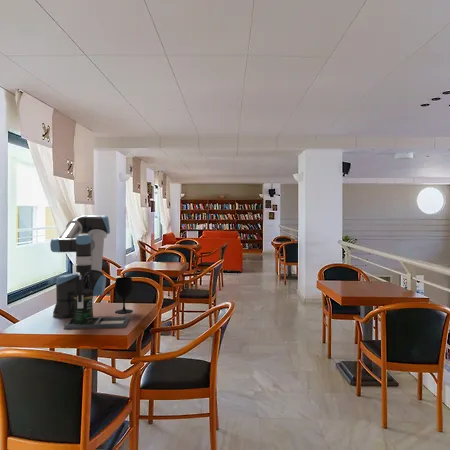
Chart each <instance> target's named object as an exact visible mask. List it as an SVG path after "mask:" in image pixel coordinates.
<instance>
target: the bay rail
mask: <svg viewBox="0 0 450 450" xmlns="http://www.w3.org/2000/svg"><path fill="white" fill-rule="evenodd" d="M121 320H124V322H123V323H107V324H101V322H102V321H121ZM129 321H130V316H95V317H94V316H93V324H74V317H71V319H69V320H68V322H66V323H65V324H63V329H64V330H83V329H87V330H88V329H90V330H91V329H114V328H115V329H120V328H121V329H123V328H126V326H127V324H128V323H129Z"/></svg>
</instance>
